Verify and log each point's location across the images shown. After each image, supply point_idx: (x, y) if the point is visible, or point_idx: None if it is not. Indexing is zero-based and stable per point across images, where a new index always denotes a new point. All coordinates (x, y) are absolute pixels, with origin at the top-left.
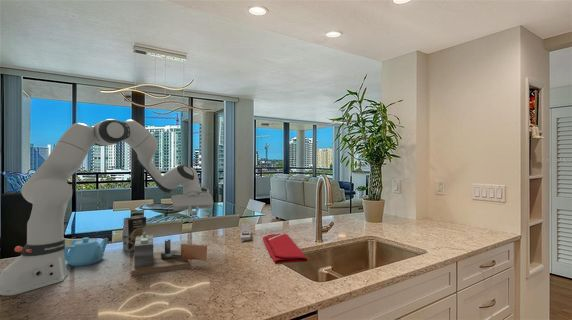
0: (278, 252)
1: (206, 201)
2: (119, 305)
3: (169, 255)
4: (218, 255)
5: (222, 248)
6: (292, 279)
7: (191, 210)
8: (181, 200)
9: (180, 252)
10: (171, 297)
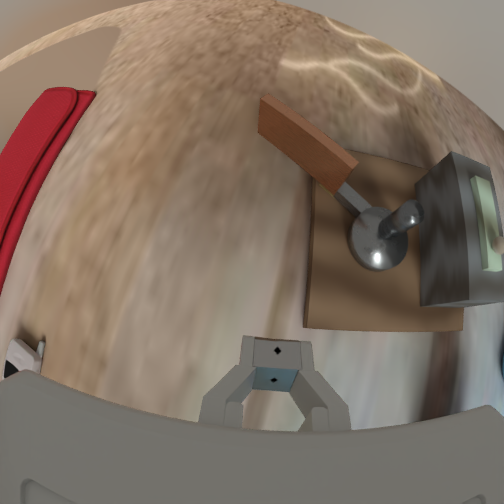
0: (55, 119)
1: (57, 434)
2: (423, 79)
3: (380, 208)
4: (181, 223)
5: (131, 308)
6: (137, 34)
7: (311, 376)
8: (455, 494)
9: (328, 283)
10: (355, 54)
